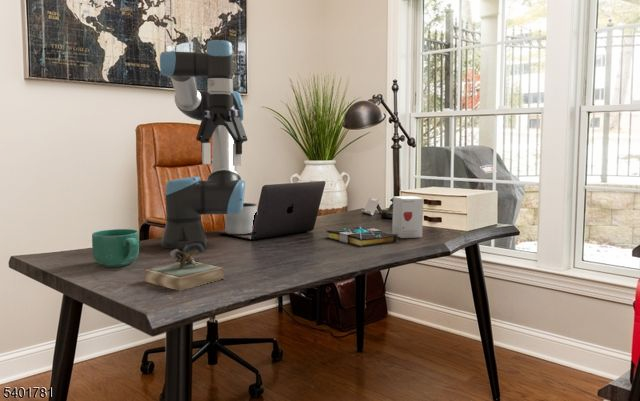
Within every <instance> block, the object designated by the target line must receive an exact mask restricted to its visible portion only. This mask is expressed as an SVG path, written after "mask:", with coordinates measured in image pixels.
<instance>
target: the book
mask: <svg viewBox="0 0 640 401" xmlns="http://www.w3.org/2000/svg"><path fill="white" fill-rule="evenodd" d="M325 231H326V233H328V236H326V239H330V240H334V241H338V242H341V243H345V244H351V245H354V246H357V247H361V248H362V247H369V246H374V245H382V244H392V243H393V244H394V243H397V242H398V241H399V237H398V234H393V233H392V232H390V233H389V232H385V231H382V230H381V229H379V228H378V229H377V228H365V227H362V226H361V225H360V226H357V227H351V228H347V227H345V226H343V227H342V229H326V230H325Z"/></svg>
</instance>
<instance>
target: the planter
mask: <svg viewBox="0 0 640 401" xmlns="http://www.w3.org/2000/svg"><path fill="white" fill-rule="evenodd" d="M256 212H257V213H258V204H256V203H251V202H244V203H243V209H242V211H241V212H240V213H238V214H230V215H228V214H224V216H225V217H224V231H225V233H227V235H231V234H246V233H251V232H252V226H253V220H254V215H255V213H256Z"/></svg>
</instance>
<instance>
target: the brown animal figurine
mask: <svg viewBox="0 0 640 401" xmlns="http://www.w3.org/2000/svg"><path fill="white" fill-rule="evenodd" d="M207 248H208V246H207V245H206V244H205V243H204V242H203V241H200V240H199V241H198V240H195V241H193V242H191V243H189V244H186V245H185V247H184V249H182V251H180V249H173V250H171V251H170V253H169V255H170V258H172V259H173V260H175V259H176V260H175V263H180V269H182V268H183V267H184V265H185V262H188V263H191V264H193V265H195V266H196V267H197V265H196V262H198V263H200V261H198V260H196V259H195V258H194V256H197V255H199V254H203V253H204V252H206V250H207Z"/></svg>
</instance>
